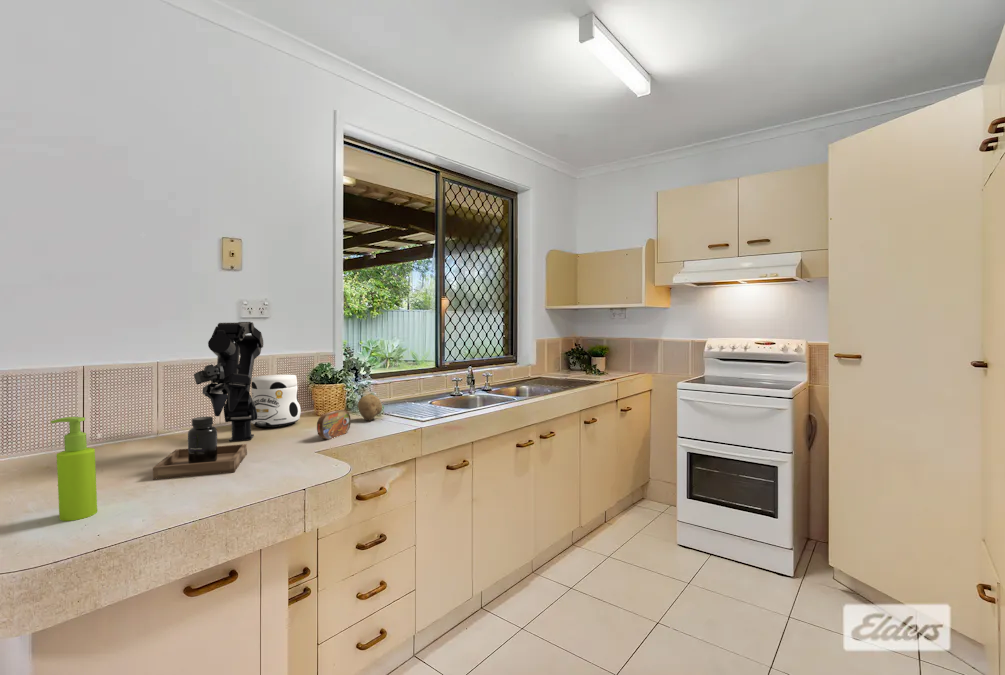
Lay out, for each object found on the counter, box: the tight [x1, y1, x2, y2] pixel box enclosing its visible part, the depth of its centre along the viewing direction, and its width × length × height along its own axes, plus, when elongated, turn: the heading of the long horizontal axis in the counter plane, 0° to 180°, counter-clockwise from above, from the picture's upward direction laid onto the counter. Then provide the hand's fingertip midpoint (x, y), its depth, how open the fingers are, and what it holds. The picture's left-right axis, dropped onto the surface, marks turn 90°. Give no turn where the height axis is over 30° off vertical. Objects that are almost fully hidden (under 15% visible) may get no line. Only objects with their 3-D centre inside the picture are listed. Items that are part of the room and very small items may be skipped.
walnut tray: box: [152, 443, 248, 481], centre depth 135 cm, size 18×18×3 cm
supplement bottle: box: [187, 416, 218, 464], centre depth 135 cm, size 7×7×12 cm
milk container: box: [249, 374, 301, 428], centre depth 186 cm, size 17×17×18 cm
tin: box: [316, 409, 352, 440], centre depth 168 cm, size 15×3×8 cm, turn 161°
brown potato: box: [357, 393, 383, 421], centre depth 194 cm, size 9×9×10 cm
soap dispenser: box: [49, 416, 98, 522], centre depth 101 cm, size 6×7×20 cm
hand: (224, 413), depth 146 cm, fingers open, 9 cm apart
